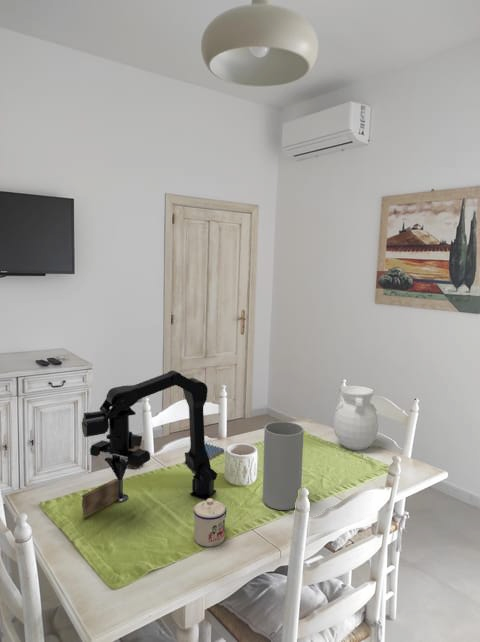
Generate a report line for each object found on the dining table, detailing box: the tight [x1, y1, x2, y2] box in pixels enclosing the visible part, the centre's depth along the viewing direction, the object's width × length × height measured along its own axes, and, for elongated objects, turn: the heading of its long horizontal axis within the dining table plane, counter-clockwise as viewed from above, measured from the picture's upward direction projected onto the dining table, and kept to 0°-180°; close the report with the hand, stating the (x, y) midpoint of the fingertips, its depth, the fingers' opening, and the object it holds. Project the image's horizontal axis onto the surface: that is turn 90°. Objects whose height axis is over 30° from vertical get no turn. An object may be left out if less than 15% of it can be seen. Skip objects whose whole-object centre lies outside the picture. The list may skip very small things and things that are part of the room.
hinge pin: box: [114, 478, 129, 504], centre depth 158 cm, size 5×5×7 cm
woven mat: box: [205, 442, 225, 461], centre depth 196 cm, size 10×11×2 cm
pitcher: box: [333, 385, 379, 451], centre depth 205 cm, size 19×18×25 cm
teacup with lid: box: [193, 497, 228, 547], centre depth 138 cm, size 12×9×12 cm
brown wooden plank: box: [81, 478, 119, 518], centre depth 151 cm, size 14×2×6 cm, turn 148°
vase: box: [127, 446, 143, 469], centre depth 182 cm, size 7×7×9 cm
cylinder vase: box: [262, 421, 305, 511], centre depth 157 cm, size 12×12×25 cm
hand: (120, 479), depth 146 cm, fingers closed
